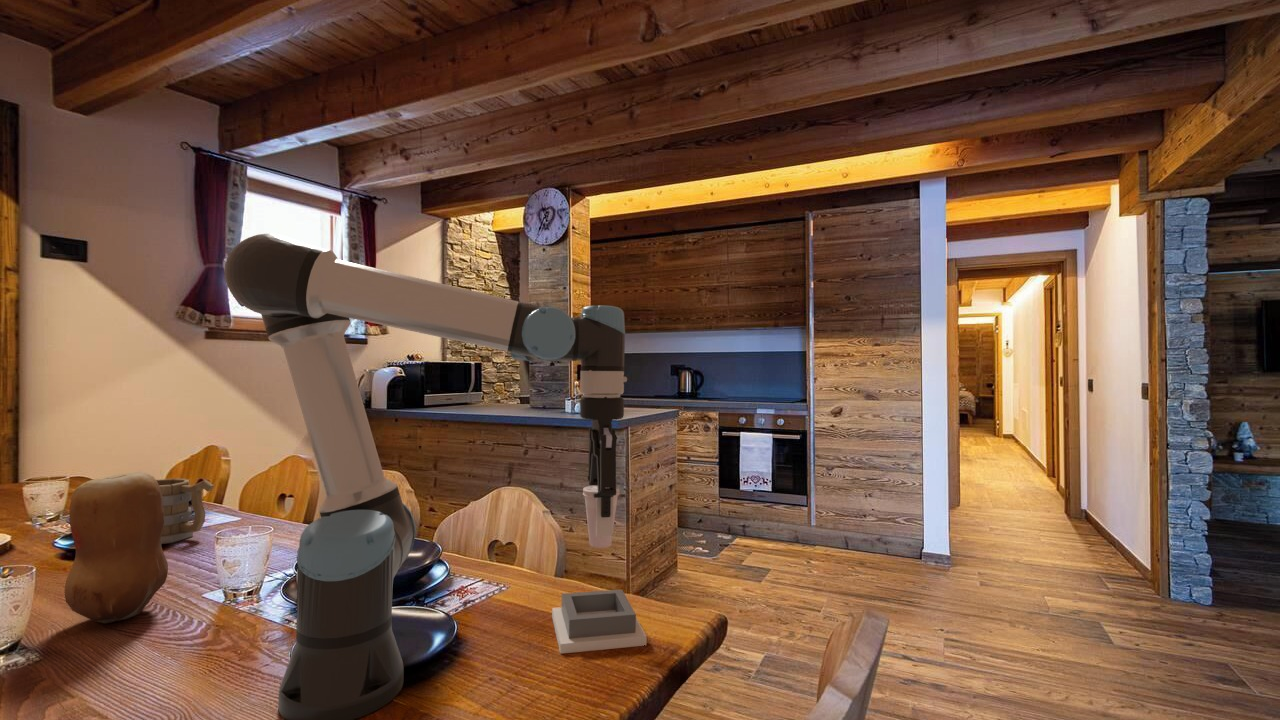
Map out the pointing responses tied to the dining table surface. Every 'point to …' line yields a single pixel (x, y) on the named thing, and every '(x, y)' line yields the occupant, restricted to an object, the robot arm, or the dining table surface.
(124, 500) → the butternut squash
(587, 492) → the smoothie
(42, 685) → the dining table surface
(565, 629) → the holder
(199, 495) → the tankard
